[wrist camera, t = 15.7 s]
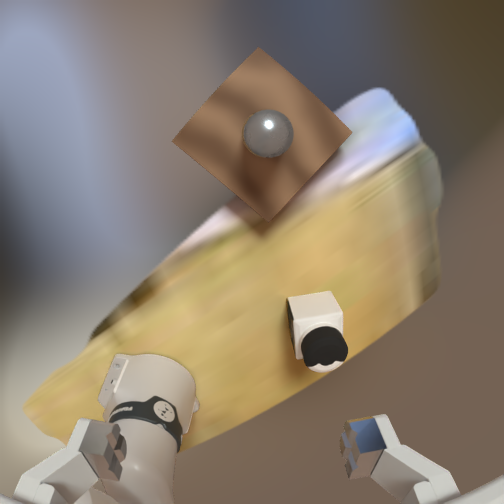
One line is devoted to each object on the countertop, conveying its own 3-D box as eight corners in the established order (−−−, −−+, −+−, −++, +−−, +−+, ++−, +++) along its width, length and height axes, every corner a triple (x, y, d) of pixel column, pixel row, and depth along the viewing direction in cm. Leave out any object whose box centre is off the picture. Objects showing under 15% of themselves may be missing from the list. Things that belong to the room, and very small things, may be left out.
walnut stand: (265, 215, 45) (268, 222, 42) (177, 140, 41) (171, 141, 38) (342, 132, 42) (352, 132, 38) (256, 54, 38) (258, 47, 34)
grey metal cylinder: (277, 161, 39) (285, 166, 32) (235, 147, 38) (235, 150, 32) (291, 121, 37) (302, 118, 31) (249, 106, 37) (251, 100, 30)
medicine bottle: (286, 296, 50) (299, 341, 39) (330, 289, 50) (354, 331, 39) (289, 334, 52) (301, 382, 41) (331, 327, 52) (352, 372, 41)
